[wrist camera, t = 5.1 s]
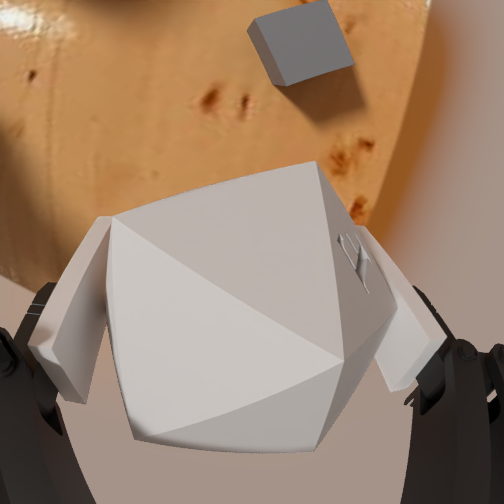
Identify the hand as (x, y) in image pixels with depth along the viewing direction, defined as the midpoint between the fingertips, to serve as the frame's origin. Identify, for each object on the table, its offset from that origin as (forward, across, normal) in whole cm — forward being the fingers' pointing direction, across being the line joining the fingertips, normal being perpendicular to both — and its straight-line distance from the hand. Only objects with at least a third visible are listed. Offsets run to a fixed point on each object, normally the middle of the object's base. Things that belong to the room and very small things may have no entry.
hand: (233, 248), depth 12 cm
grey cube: (+14, +4, +10) cm, 17 cm away
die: (0, 0, 0) cm, 0 cm away
